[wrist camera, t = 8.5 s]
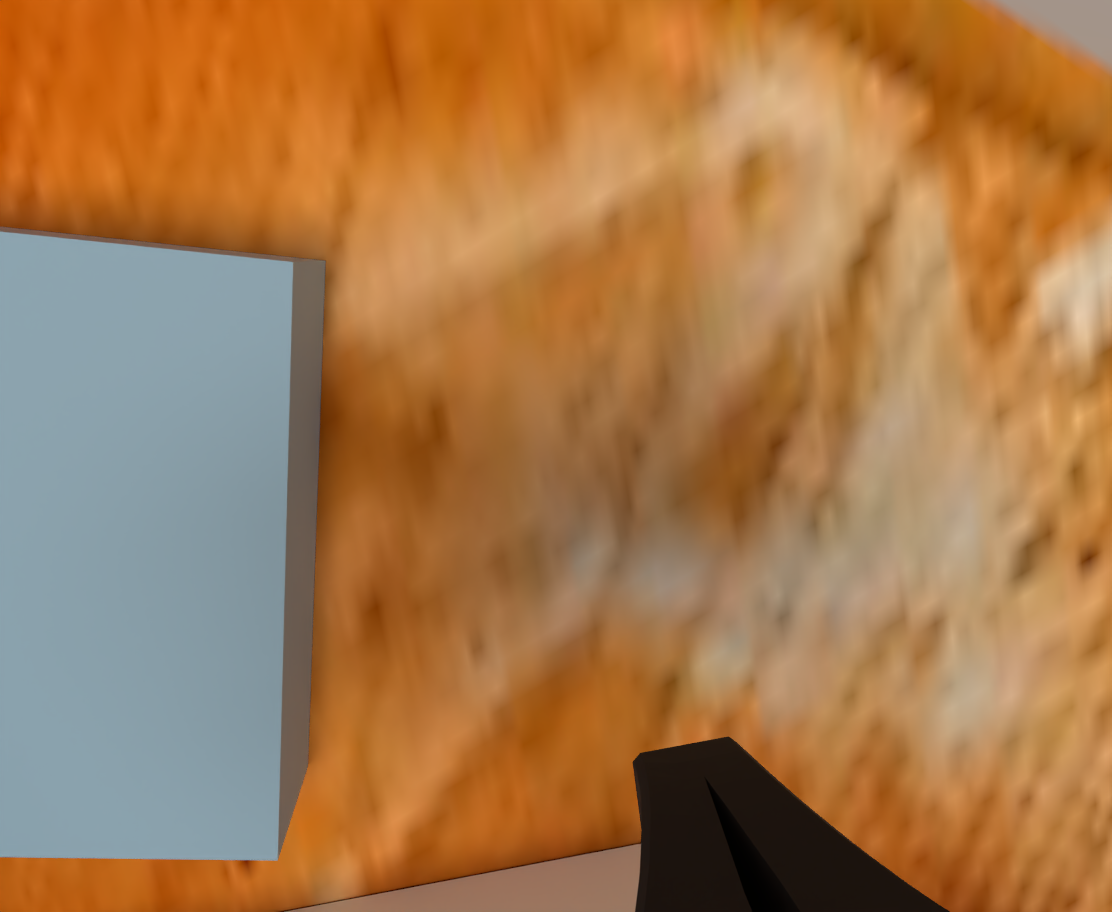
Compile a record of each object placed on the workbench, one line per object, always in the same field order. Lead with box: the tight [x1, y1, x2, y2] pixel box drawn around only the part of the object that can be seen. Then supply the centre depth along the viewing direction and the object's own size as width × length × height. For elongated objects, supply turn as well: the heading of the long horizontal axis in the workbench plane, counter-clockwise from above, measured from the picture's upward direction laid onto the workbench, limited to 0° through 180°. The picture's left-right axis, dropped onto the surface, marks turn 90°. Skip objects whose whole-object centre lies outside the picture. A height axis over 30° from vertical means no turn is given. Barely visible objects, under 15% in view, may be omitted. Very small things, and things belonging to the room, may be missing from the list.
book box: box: [0, 227, 326, 860], centre depth 16 cm, size 12×8×4 cm, turn 173°
